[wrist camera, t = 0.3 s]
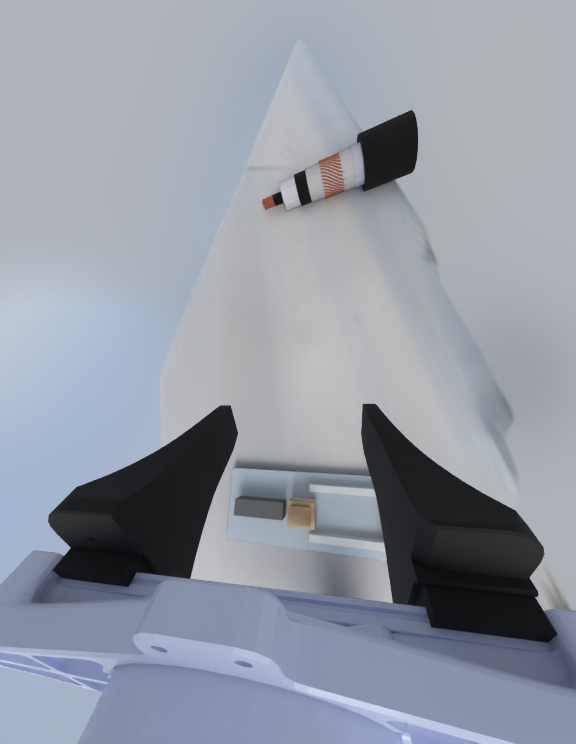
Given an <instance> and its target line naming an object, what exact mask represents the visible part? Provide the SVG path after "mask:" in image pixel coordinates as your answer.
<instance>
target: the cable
mask: <svg viewBox="0 0 576 744" xmlns="http://www.w3.org/2000/svg"><path fill="white" fill-rule="evenodd" d="M417 152H418V128H417V122H416V117H415V113H414V112H413V111H412V110H411V111H408V112H406V113H404V114H402V115H399V116H397V117H395V118H393V119H391V120H388V121H386V122H384V123H382V124H379V125H378V126H375V127H373V128H371V129H368V130H366V131H364V132H362V133H359V134H358V137H357V143H356V144H354V145H352V146H350V147H349V148H347V149H345V150H343V151H341V152H338V153H337V154H334V155H332V156H330V157H328V158H325V159H323V160H321V161H319V163H317V164H315V165H313V166H311V167H309V168H306V169H305V170H304V171H302V172H299V173H297V174H295V175H294V176H292V177H289V178H287V179H285V180H283V181H280V190H281V192H279V193H276V194H274V195H273V196H270V197H268V198H266V199H263V201H262V202H263V204H264V208H265V210H266V209H268V208H271V207H273V206H277V205H279V204H282V203H284V204H285V207H286V209H287V211H288V210H290V209H293V208H295V207H298V206H300V205H305V204H307V203H310V202H314V201H317V200H319V199H322V198H324V197H326V198H328V197H330V196H333V195H335V194H338V193H340V192H343V191H346V190H348V189H351V188H353V187H355V188H356V187H358V186H361V185H362V187H363V190H364V191H366V190H369V189H372V188H374V187H377V186H379V185H382V184H385V183H387V182H390V181H392V180H395V179H397V178H400V177H402V176H405V175H408V174H410V173H412V172H413V170H414V168H415V165H416V160H417Z"/></svg>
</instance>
